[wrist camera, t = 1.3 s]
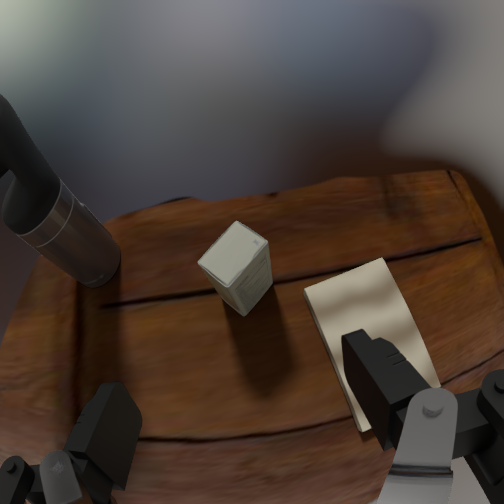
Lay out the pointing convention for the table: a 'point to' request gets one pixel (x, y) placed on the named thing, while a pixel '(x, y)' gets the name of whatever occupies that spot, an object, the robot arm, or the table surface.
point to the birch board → (366, 321)
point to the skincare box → (239, 267)
